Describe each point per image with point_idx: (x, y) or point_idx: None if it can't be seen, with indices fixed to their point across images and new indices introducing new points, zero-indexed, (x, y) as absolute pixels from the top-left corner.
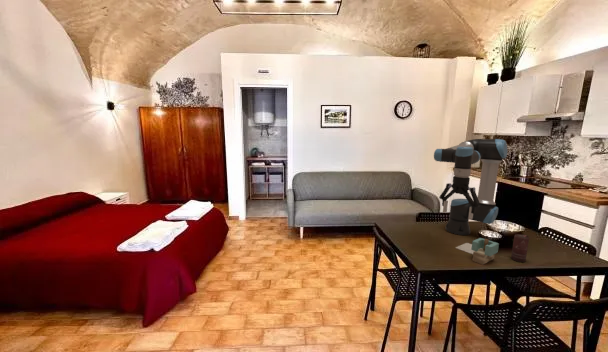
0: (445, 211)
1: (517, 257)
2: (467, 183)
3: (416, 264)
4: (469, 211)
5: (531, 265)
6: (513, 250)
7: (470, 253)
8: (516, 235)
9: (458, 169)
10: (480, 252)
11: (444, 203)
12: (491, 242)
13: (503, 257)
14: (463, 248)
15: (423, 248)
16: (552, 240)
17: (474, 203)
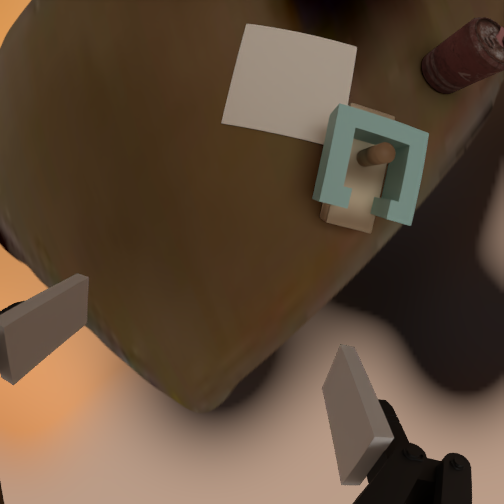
0: (83, 305)
1: (448, 90)
2: None
3: (178, 395)
4: (336, 442)
5: (473, 101)
6: (443, 72)
7: (294, 137)
8: (484, 48)
9: None
10: (353, 202)
11: (27, 368)
12: (400, 141)
13: (401, 83)
14: (254, 103)
15: (126, 246)
16: None
17: (406, 490)
